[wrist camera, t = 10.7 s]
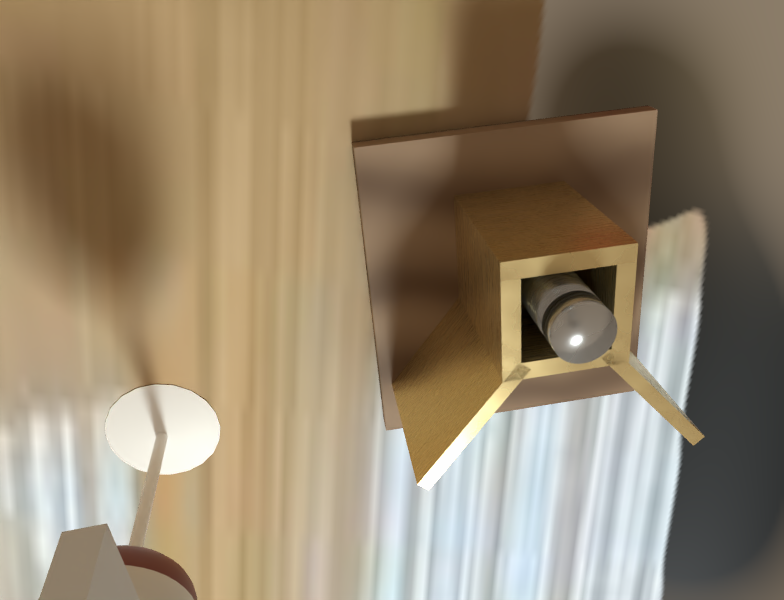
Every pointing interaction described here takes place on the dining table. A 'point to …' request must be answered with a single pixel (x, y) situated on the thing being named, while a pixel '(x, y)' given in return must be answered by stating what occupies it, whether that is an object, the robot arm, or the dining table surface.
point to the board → (479, 174)
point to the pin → (569, 316)
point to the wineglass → (159, 471)
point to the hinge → (516, 317)
